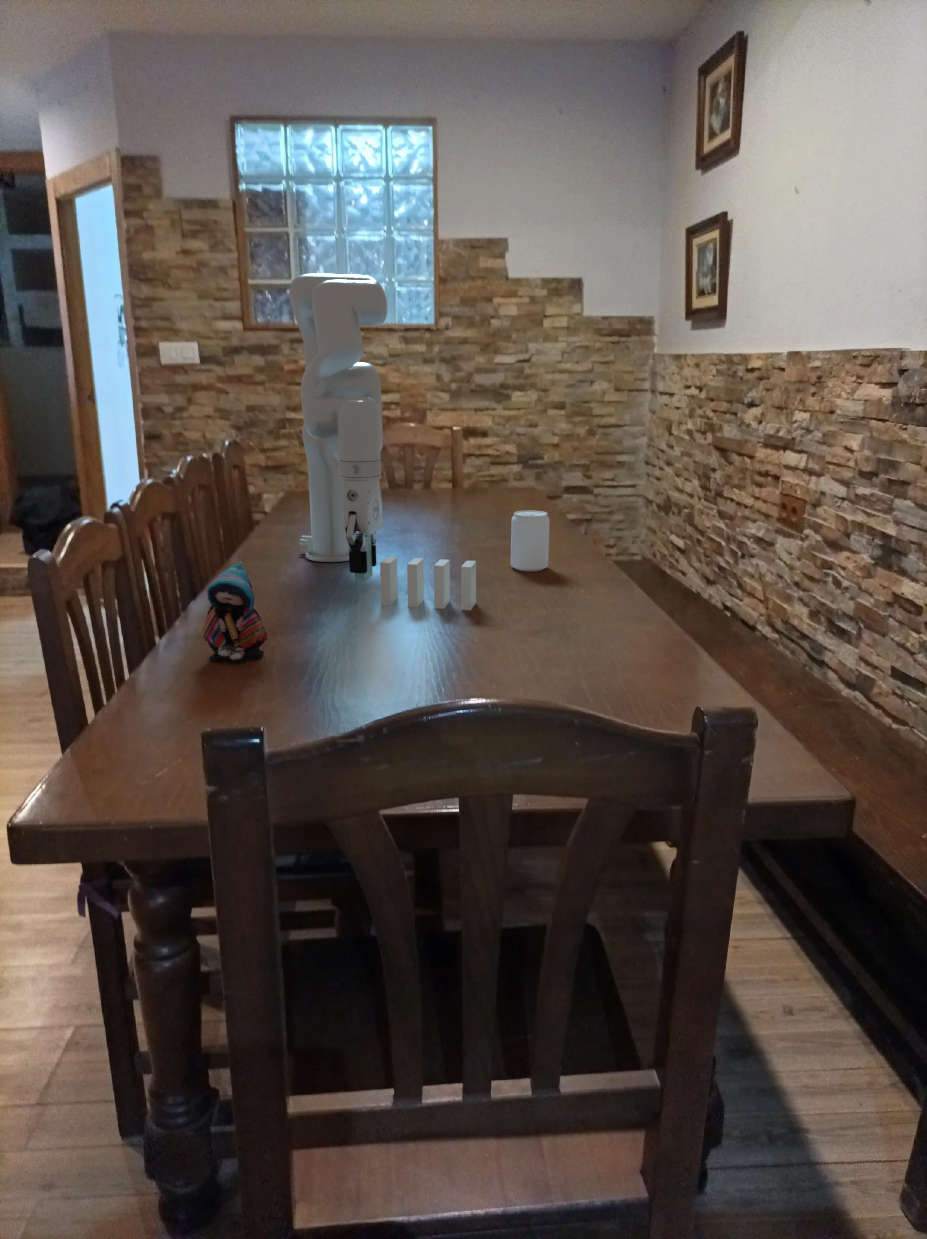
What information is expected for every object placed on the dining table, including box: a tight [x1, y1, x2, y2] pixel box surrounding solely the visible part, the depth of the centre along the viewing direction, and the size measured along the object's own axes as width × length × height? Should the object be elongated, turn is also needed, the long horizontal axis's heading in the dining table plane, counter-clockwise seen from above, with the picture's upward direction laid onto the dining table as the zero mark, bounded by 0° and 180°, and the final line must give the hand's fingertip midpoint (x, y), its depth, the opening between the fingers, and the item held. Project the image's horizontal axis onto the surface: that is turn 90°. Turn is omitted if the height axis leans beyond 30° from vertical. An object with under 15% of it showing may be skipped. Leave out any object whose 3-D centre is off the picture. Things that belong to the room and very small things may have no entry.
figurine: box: [200, 560, 268, 663], centre depth 128 cm, size 10×7×15 cm
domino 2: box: [379, 556, 399, 607], centre depth 160 cm, size 2×5×8 cm, turn 169°
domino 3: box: [406, 557, 425, 608], centre depth 159 cm, size 2×5×8 cm, turn 169°
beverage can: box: [510, 509, 551, 573], centre depth 185 cm, size 8×8×12 cm
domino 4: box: [433, 558, 451, 610], centre depth 158 cm, size 2×5×8 cm, turn 169°
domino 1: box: [354, 535, 374, 583], centre depth 159 cm, size 2×5×8 cm, turn 169°
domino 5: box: [460, 560, 477, 611], centre depth 157 cm, size 2×5×8 cm, turn 169°
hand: (363, 568), depth 160 cm, fingers closed on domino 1, 4 cm apart
